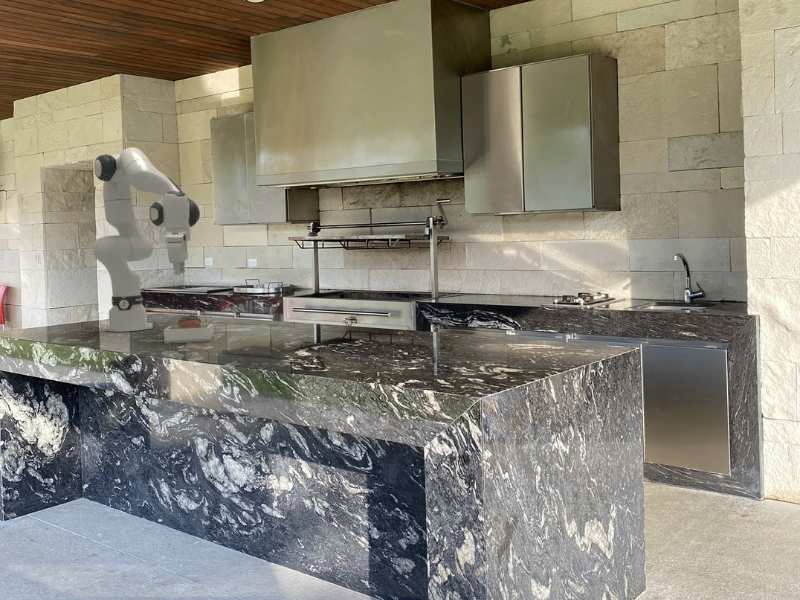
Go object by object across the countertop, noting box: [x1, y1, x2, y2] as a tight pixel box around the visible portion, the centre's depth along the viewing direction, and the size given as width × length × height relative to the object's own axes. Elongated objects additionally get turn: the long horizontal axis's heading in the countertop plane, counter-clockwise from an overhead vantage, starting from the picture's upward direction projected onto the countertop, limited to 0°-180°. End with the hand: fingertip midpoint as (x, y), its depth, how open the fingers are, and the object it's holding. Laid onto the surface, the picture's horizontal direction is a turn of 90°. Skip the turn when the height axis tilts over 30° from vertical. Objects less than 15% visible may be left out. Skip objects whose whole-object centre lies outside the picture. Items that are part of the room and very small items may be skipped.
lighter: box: [178, 314, 202, 329], centre depth 314 cm, size 8×3×10 cm
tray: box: [163, 323, 215, 345], centre depth 312 cm, size 12×16×5 cm
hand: (179, 273), depth 312 cm, fingers open, 8 cm apart
